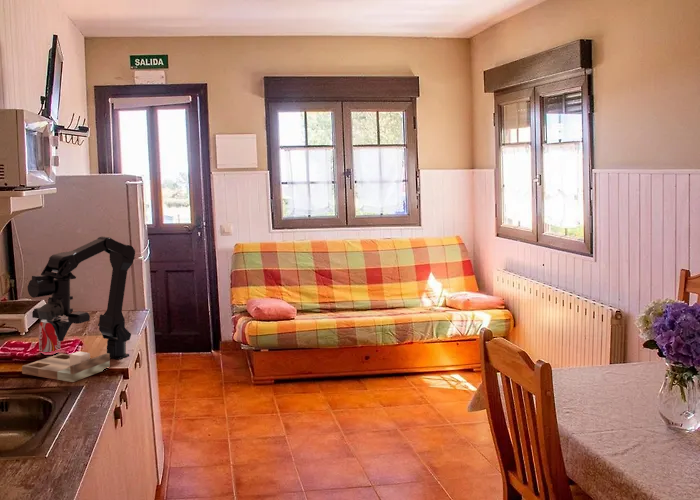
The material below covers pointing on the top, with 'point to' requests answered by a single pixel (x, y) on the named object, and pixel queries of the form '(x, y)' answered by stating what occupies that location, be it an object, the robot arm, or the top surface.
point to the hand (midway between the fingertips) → (60, 341)
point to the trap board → (66, 367)
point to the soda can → (47, 337)
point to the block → (78, 357)
